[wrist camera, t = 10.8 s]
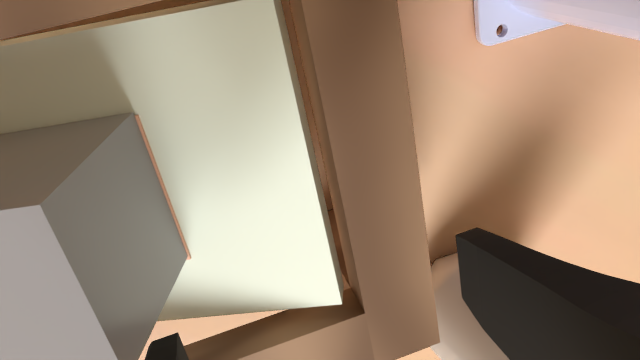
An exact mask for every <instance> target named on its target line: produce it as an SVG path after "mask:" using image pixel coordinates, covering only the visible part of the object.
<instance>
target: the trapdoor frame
mask: <svg viewBox="0 0 640 360" xmlns="http://www.w3.org/2000/svg"><path fill="white" fill-rule="evenodd" d="M158 1H162V0H0V40H3V39H7V38H11V37H15V36H19V35H23V34H27V33H31V32H35V31H39V30H43V29H47V28H52V27H56V26H60V25H64V24H68V23H72V22H76V21H80V20H84V19H88V18H92V17H96V16H101V15H105V14H109V13H113V12H117V11H121V10H125V9H129V8H133V7H137V6H141V5H145V4H149V3H154V2H158ZM289 4H290V8H291V13H292V18H293V22H294V27H295V32H296V36H297V41H298V46H299V50H300V55H301V60H302V64H303V69H304V74H305V78H306V83H307V88H308V92H309V97H310V102H311V106H312V111H313V116H314V120H315V125H316V130H317V134H318V139H319V144H320V148H321V153H322V158H323V162H324V167H325V172H326V176H327V181H328V185H329V190H330V195H331V199H332V204H333V210H330V211H328V216H329V220H330V225H331V229H332V234H333V238H334V243H335V247H336V252H337V257H338V261H339V266H340V270H341V275H342V279H343V284H344V288H343V301H342V304H340V305H329V306H318V307H307V308H296V309H288V310H285V311H282V312H280V313H277V314H274V315H271V316H268V317H265V318H263V319H260V320H257V321H254V322H251V323H248V324H246V325H243V326H240V327H237V328H234V329H231V330H228V331H226V332H223V333H220V334H217V335H214V336H211V337H209V338H206V339H203V340H200V341H197V342H194V343H192V344H189V345H186V346H184V349H185V351H186V354H187V356H188V358H189V360H396V359H398V358H401V357H404V356H406V355H409V354H412V353H414V352H417V351H419V350H422V349H425V348H427V347H430V346H433V345H435V344H438V343H440V337H439V329H438V321H437V313H436V305H435V297H434V289H433V281H432V273H431V266H430V258H429V250H428V242H427V234H426V226H425V218H424V210H423V202H422V194H421V187H420V179H419V171H418V163H417V155H416V147H415V139H414V131H413V123H412V115H411V108H410V100H409V92H408V84H407V76H406V68H405V60H404V52H403V44H402V36H401V29H400V21H399V13H398V5H397V0H289Z"/></svg>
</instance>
